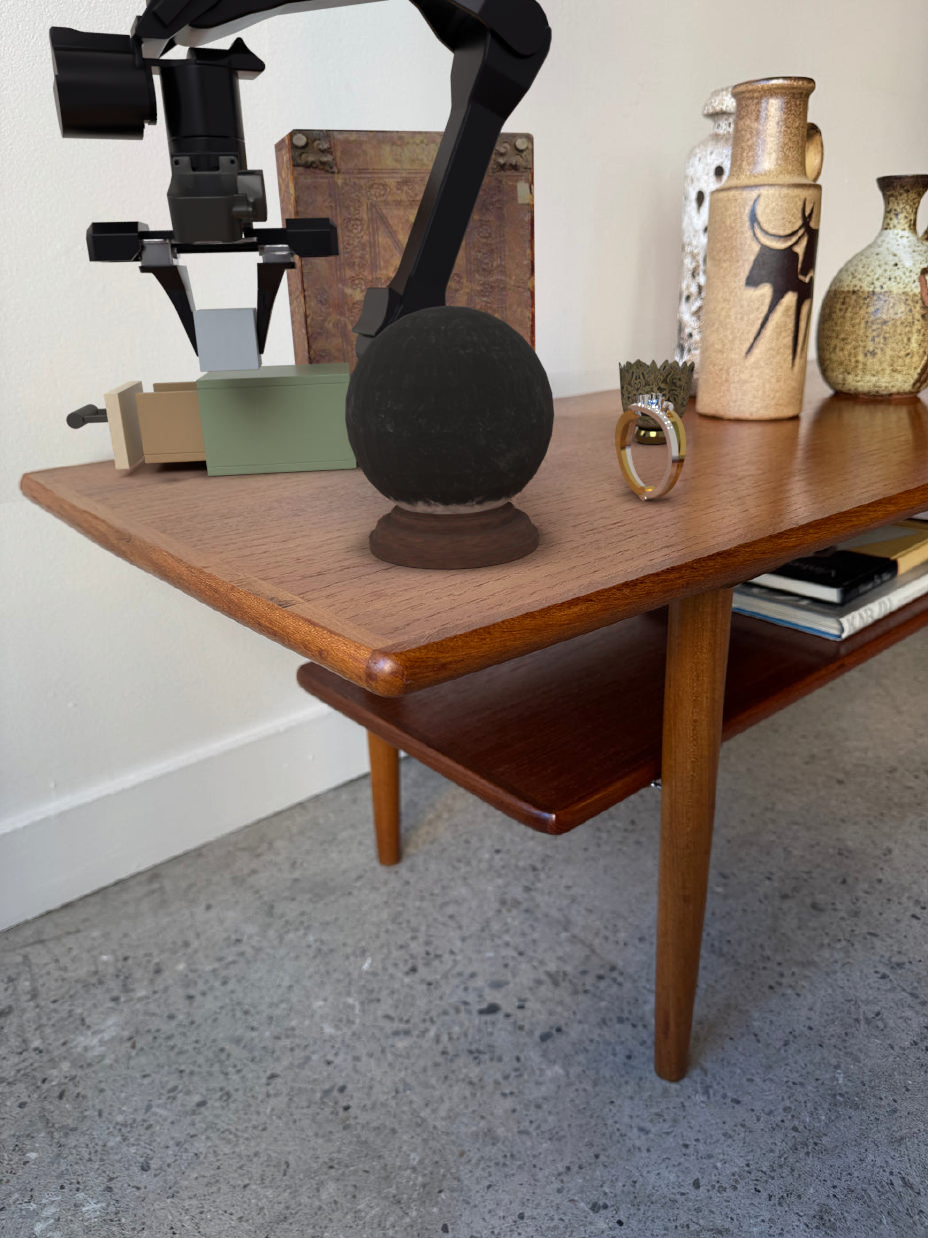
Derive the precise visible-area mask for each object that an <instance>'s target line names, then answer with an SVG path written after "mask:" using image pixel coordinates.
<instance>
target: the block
mask: <svg viewBox="0 0 928 1238" xmlns="http://www.w3.org/2000/svg"><path fill="white" fill-rule="evenodd" d="M193 316H194V324H195V332H196V340H197V348H198V356H199V357H198V364H199V372H201V373H207V372H213V371H237V370H259V368H260V367H261V366H263V359H262V354H259V349H258V340H257V331H256V327H257V307H234V308H233V307H232V308H229V307H228V308H200V309H196V311H193Z"/></svg>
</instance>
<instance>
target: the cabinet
mask: <svg viewBox="0 0 928 1238" xmlns="http://www.w3.org/2000/svg"><path fill="white" fill-rule="evenodd" d="M350 377H351V375H350V363H326V364H301V365H295V364H279V365H278V364H277V365H276V364H275V365H261V367H260V368H259V370H237V371H213V372H205V373H204V374H203V375H201V376H200V377H199V378H197V379H196V380H195V381H196V385H197V394H198V401H199V409H200V417H201V425H202V433H203V440H204V448H205V456H206V461H205V462H206V463H205V464H206V471H207V476H208V477H216V476H219V477H220V476H237V475H254V474H255V475H257V474H277V473H278V474H279V473H294V472H298V473H299V472H315V471H334V470H335V471H336V470H337V471H338V470H354V469H358V468H357V461H356V458H355V456H354V453H353V450H352V448H351V445H350V443H349V440H348V434H347V428H346V422H345V401H346V395H347V390H348V386H349V381H350Z"/></svg>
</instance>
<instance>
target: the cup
mask: <svg viewBox="0 0 928 1238" xmlns="http://www.w3.org/2000/svg"><path fill="white" fill-rule="evenodd" d="M695 367H696V363H695V361H693V360H692V361H691V362H690V363H689V364H688V362H687V360H684V361H682V363H681V365H680V363H679V361H677V360H673V361H671V362H670V361H669V360H668V359H667V358H666V359H665V360H664V361H663V362H662V363H661V364H660V366H658V364H657V362H656V361H655V359H652V360H651V362H650V364H647V363H646V362H645V361H643V360H641V359H640V358H637V359H636V360H635V361H634V362H633V363H632V362H631V361H628V360H626V362H625V363H624V364H623V365H622V364H621V362H620V361H619V362H618V370H619V371H618V372H619V386H620V387H619V388H620V389H619V390H620V400H621V408H622V412H623V413H624V412H626V411H628V410H629V408H628V406H630V405H632V404H634V403H635V397H636V396H638V395H642V402H643V395H645V394H648V396H649V394H651V393H655V400H656V395H657V394H658V393H660V394H662V397H661V398H665V399H664V401H667V402H670V403H672V404H673V406H674V407H673V411H674V412H675V413H676V414H677V415H678V416H679V418H680V419H681V420H682V418H683V417H684V415H685V413H686V410H687V408H688V404H689V400H690V394H691V390H692V389H691V388H692V383H693V378H694V373H695ZM649 400H650V398H649ZM664 409H665V408H663V410H664ZM635 427H636V428H635V429H634V432H633V435H634V438H635V440H636V442H638V443H640V444H643V445H663V444H667V441H666V437H665V434H664V431H663V429H662V427H661V426H660V424H659V423H658V422H657V421H656V420H655V419H654V418H653V417H648V416H641V417H640V418H639V420H638V421H637V423H636V425H635Z"/></svg>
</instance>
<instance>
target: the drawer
mask: <svg viewBox="0 0 928 1238" xmlns="http://www.w3.org/2000/svg"><path fill="white" fill-rule="evenodd" d="M143 387H144V386H143V381H142V380H130V381H127V382H125V383H123V384H121V385H119V386H117V387H115V388H113V389H111V390H109V391H107V392H104V394H103V398H104V404H105V408H98V406H96V405H95V404H92V403H89V404H85V405H84V406H82V407H79V408H78V409H75V410H74V411H72V412H70V413H68V414H67V415H66V419H65V421H66V424H67V426H68V427H70V428H71V429H73V430H79V429H81V428H83V427H84V426H86V425H87V424H101V423H102V424H103V423H108V429H109V434H110V441H111V447H112V453H113V461H114V467H115V470H117V471H119V470H130V469H131V468H132V467H133V466H134V465H136V464H137V463H138V462H139V461H140V460H141V459H142V458H144V463H145V464H163V463H183V462H185V463H187V462H204V461H205V462H206V456H205V448H204V440H203V433H202V425H201V417H200V409H199V401H198V394H197V385H196V380H195V381H193V380H191V381H170V382H169V381H167V382H153V384H152V389H153V391H150V392H144V389H143Z"/></svg>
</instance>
